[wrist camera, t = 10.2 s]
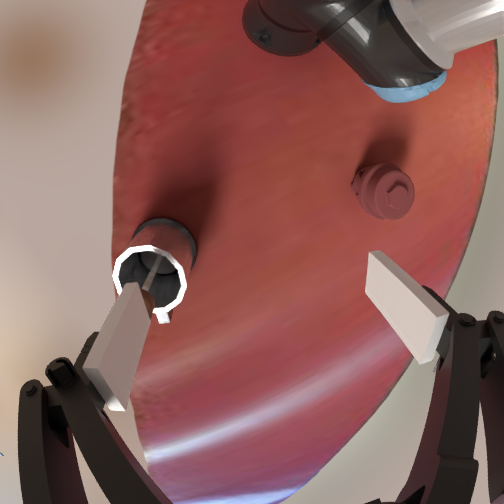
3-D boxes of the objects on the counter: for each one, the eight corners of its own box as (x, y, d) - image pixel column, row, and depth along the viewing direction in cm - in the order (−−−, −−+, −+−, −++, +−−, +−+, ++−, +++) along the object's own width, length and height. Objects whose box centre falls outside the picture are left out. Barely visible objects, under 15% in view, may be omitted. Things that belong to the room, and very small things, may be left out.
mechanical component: (367, 147, 48) (393, 185, 52) (332, 181, 50) (361, 217, 54) (403, 153, 37) (430, 199, 40) (362, 195, 39) (393, 239, 42)
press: (124, 222, 49) (100, 248, 38) (190, 212, 50) (180, 235, 39) (144, 293, 56) (129, 330, 44) (204, 287, 56) (200, 324, 45)
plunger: (137, 235, 49) (94, 294, 30) (178, 229, 50) (153, 288, 30) (147, 274, 52) (116, 344, 33) (186, 269, 53) (170, 341, 34)
